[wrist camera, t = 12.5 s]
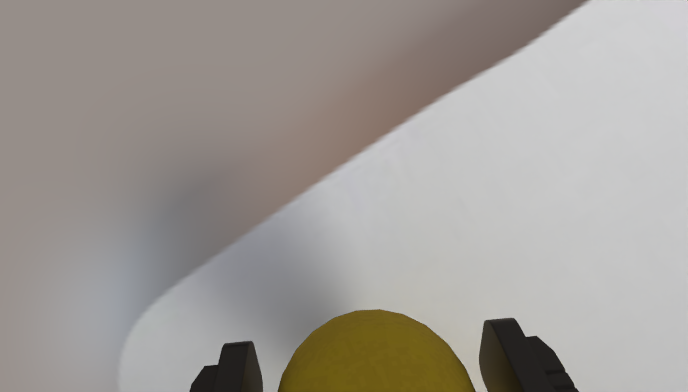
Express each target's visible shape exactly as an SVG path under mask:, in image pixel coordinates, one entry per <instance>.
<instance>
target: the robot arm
mask: <svg viewBox="0 0 688 392" xmlns="http://www.w3.org/2000/svg"><path fill="white" fill-rule="evenodd" d="M479 365H480V371H481V375H482V378H483V381H484V383H485V386H486V388H487V391H488V392H579V391H578V390H577V388H575V387H574V383H573V382H572V380H571V378H570V377H569V375H568V373H566V372H565V368H564V367H563V365H562V364H561V362H560V360H559V359H558V357H557V355H556V354H555V352H554V351H553V350H552V349H551V348H550V347H549V346H548V345H546V344H545V343H544V342H543V341H542V340H541V339H540V338H538V337H537V336H531V337H525V335H524V333H523V331H522V330H521V328H520V326H519V324H518V323H517V321H516V320H515V319H514V318H504V319H493V320H486V321H485V322H484V326H483V332H482V339H481V346H480V353H479ZM190 392H263V382H262V375H261V371H260V367H259V363H258V359H257V355H256V351H255V347H254V344H253V342H252V341H246V342H235V343H225V344H224V345H223V347H222V351H221V355H220V359H219V363H218V365H211V366H204V368H203V369H202V370H201V372H200V373H199V375H198V376H197V377H196V379H195V380H194V382H193V383H192V385H191V388H190Z"/></svg>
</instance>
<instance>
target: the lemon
mask: <svg viewBox="0 0 688 392" xmlns="http://www.w3.org/2000/svg"><path fill="white" fill-rule="evenodd" d="M278 392H476V391H475V389H474V387H473V384H472V382H471V380H470V377H469V375H468V373H467V371H466V369H465V367H464V365H463V364H462V363H461V361H460V360H459V359H458V357H457V356H456V355H455V353H454V352H453V351H452V349H451V348H450V346H449V345H448V344H447V343H446V342H445V341H444V340H443V339H441V338H440V337H439V336H438V335H437V334H435V333H434V332H433V331H432V330H431V329H430V328H428V327H427V326H426V325H424V324H422V323H420V322H418V321H416V320H414V319H412V318H410V317H408V316H405V315H403V314H399V313H394V312H390V311H385V310H380V309H379V310H361V311H354V312H351V313H348V314H345V315H342V316H338V317H335V318H333V319H331V320H330V321H328V322H327V323H325V324H324V325H322V326H321V327H319V328H318V329H316V330H315V331H313V332H312V333H311V334H310V335H309V337H308V338H307V339H306V340H305V341H304V342H303V343H302V344H301V345H300V346H299V347H298V348H297V349H296V351H295V353H294V355H293V356H292V358H291V360H290V362H289V364H288V365H287V367H286V369H285V371H284V372H283V374H282V378H281V381H280V385H279V388H278Z"/></svg>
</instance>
